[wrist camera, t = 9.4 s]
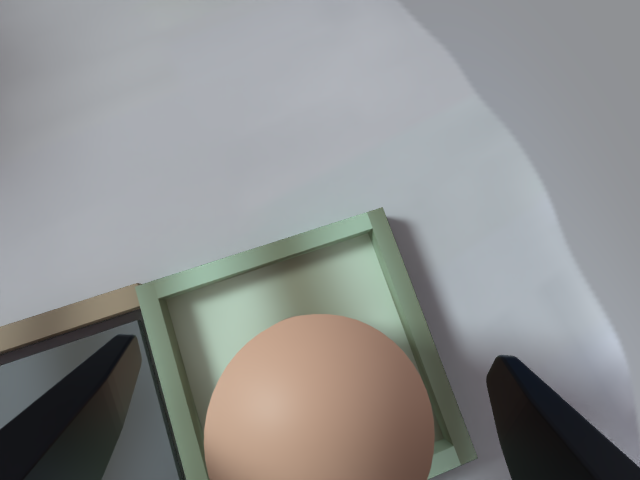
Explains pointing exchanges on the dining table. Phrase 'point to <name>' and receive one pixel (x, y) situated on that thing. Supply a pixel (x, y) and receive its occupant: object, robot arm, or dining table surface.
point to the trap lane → (234, 338)
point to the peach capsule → (319, 407)
